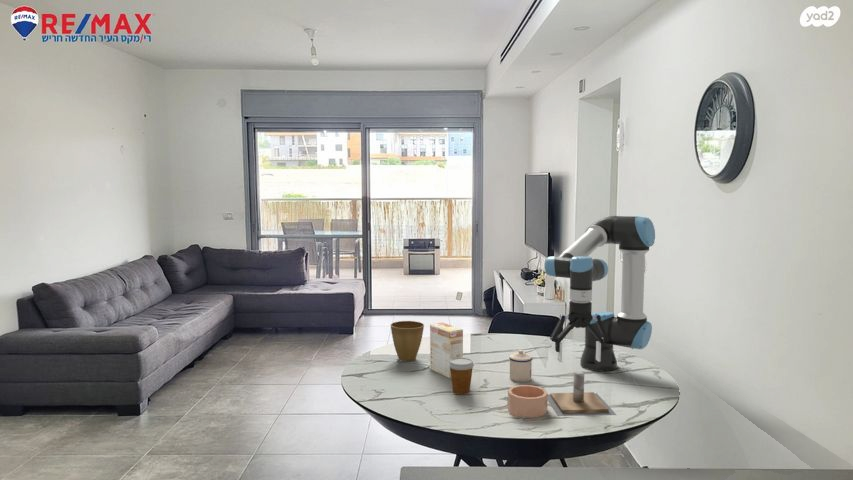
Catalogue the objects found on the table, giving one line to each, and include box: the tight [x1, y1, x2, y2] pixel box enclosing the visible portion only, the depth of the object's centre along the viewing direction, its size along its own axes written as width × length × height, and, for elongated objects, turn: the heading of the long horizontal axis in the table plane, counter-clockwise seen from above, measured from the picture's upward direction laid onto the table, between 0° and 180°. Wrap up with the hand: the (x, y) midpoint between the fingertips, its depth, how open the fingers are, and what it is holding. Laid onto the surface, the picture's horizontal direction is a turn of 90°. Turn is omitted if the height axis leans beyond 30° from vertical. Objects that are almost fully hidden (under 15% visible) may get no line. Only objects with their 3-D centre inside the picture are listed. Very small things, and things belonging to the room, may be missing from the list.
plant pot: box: [390, 320, 425, 363], centre depth 262 cm, size 15×15×16 cm
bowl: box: [507, 384, 549, 418], centre depth 202 cm, size 13×13×7 cm
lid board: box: [549, 371, 609, 413], centre depth 206 cm, size 16×16×11 cm
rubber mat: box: [548, 392, 617, 417], centre depth 207 cm, size 20×20×1 cm
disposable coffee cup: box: [449, 357, 475, 395], centre depth 221 cm, size 10×10×12 cm
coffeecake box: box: [429, 322, 464, 379], centre depth 243 cm, size 15×7×20 cm, turn 32°
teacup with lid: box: [508, 349, 533, 383], centre depth 237 cm, size 12×9×12 cm
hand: (578, 360), depth 205 cm, fingers open, 13 cm apart
